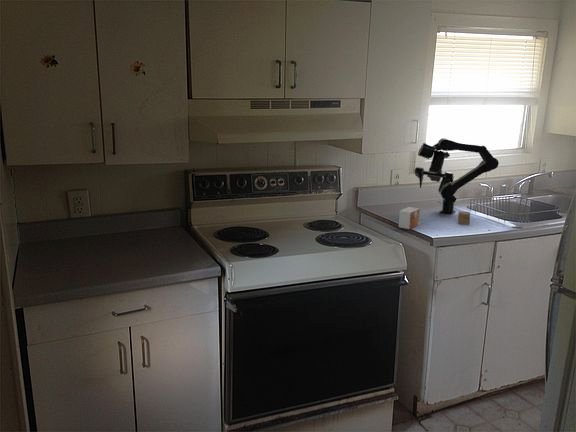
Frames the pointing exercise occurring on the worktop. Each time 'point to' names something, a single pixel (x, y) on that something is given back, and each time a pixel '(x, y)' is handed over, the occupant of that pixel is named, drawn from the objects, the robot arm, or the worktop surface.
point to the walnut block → (463, 217)
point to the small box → (409, 218)
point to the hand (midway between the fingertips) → (429, 189)
